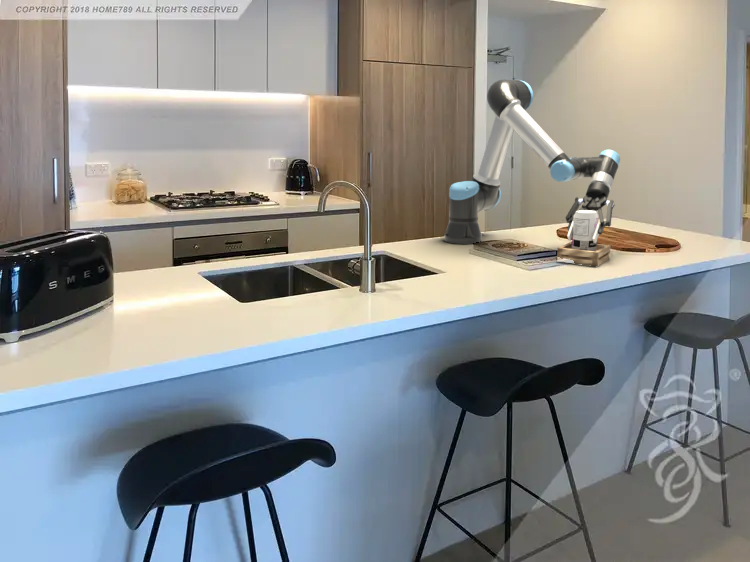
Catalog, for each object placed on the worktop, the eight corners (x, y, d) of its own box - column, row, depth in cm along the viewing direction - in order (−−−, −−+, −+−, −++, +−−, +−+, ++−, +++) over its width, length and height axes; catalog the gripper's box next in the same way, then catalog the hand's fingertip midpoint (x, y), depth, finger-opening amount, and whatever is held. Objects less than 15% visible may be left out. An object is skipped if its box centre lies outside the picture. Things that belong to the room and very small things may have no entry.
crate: (556, 262, 243) (557, 248, 242) (570, 254, 254) (571, 241, 253) (596, 267, 236) (597, 252, 234) (609, 259, 247) (610, 245, 245)
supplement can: (568, 251, 248) (570, 210, 244) (590, 251, 249) (593, 209, 245) (576, 256, 240) (579, 213, 236) (599, 256, 241) (602, 213, 237)
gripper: (630, 196, 246) (613, 249, 237) (572, 192, 258) (554, 242, 249) (627, 182, 240) (610, 236, 232) (568, 179, 252) (549, 230, 243)
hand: (581, 239), depth 240 cm, fingers closed on supplement can, 8 cm apart
